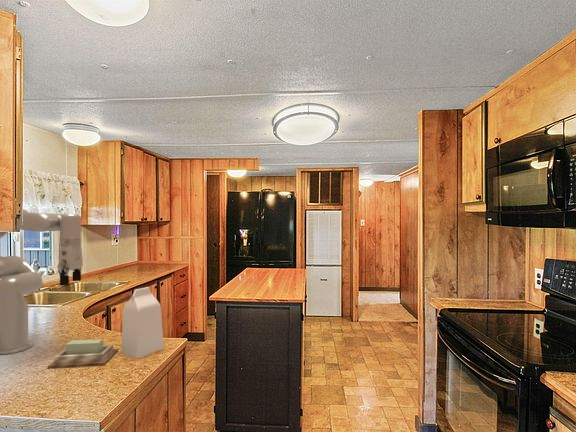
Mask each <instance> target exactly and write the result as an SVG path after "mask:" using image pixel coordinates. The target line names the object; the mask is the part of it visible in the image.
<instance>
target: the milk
mask: <svg viewBox="0 0 576 432" xmlns="http://www.w3.org/2000/svg"><path fill="white" fill-rule="evenodd" d="M162 318H163V317H162V308H161V304H160V302H159V301H158V299H157V298H156V297H155V296H154V294H153V293H152V291H151V289H150V287H147V286H146V287H141V288H136V289H134V290H133V294H132V295H131V297H130V299H129V300H128V301H127V302H126V303H125V304H124V306H123V309H122V323H121V324H122V326H121V344H120V345H121V348H120V352H121V354H124V355H125V356H128V357H131V358H135V359H137V360H139V359H141V358H143V357H144V358H145V357H146V356H149V355H152V354H154V353H156V352H159V351H161V350H164V349H165V346H164V345H165V344H164V333H163V331H164V330H163V320H162Z"/></svg>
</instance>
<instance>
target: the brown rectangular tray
mask: <svg viewBox="0 0 576 432" xmlns="http://www.w3.org/2000/svg"><path fill="white" fill-rule="evenodd" d="M117 353H119V349H118V348H116V349H115V348H114V345H113V344H109V345H108V344H106V345H104V344H103V352H102V353H96V354H78V355H66V348H65V349H63V350H62V351H61V352H59V353H58V354H56V355H55V356H54V358H53V360H54V361H52V362H51V363H50V364H48V365H47V369H49V368H51V369H65V368H67V369H68V368H83V367H97V366H99V367H100V366H105V365H106V364H107V363H108V362H110V361H111V360H112V358H114V356H115V355H117ZM49 370H50V369H49Z"/></svg>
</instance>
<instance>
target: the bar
mask: <svg viewBox="0 0 576 432" xmlns="http://www.w3.org/2000/svg"><path fill="white" fill-rule="evenodd" d="M103 345H104V339H102V338H101V339H77V340H73V339H72V340H70V341H69V342H67V343H66V344H65V349H66V355H78V354H96V353H102V352H103Z"/></svg>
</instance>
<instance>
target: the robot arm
mask: <svg viewBox="0 0 576 432" xmlns="http://www.w3.org/2000/svg"><path fill="white" fill-rule="evenodd" d="M22 209H23V208H22ZM81 222H82V219H81V215H80V214H78V213H47V212H46V213H44V212H43V213H42V212H41V213H39V212H28V211H27V210H26V209H23V226H22V228H21V231H29V232H40V233H41V232H42V233H43V232H59V248H60V249H59V258H58V259H59V262H58V263H59V264H58V265H57V271H58V275H59V286H69V285H70V276H69V273H70V271H72V281H73V282H77V281H78V282H79V281H81V280H82V268H83V266H84V262H83V252H82V245H81V244H82V236H81V235H82V234H81V233H82V232H81V231H82V228H81V227H82V223H81ZM8 233H9V232H0V239H1V238H3V237H4V236H6V234H8ZM43 282H44V281H43V278H42V276H41V274H40V273H39V272H38V271H37V270H36V269H35V268H34V267H33V266H31V265H30V263H29V262H28V261H26V260H25V258H22V257H21V256H17V255H9V256H2V255H0V355H9V354H11V355H12V354H16V353H18V352H22V351H26V350H28V349H30V348H32V347H33V346H34V341H31V340H29V304H28V301H27V300H26V298H25V296H26V295H30V294H31V293H35V292H37V291H39V290H40V289H41V288H42V286H43Z"/></svg>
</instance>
